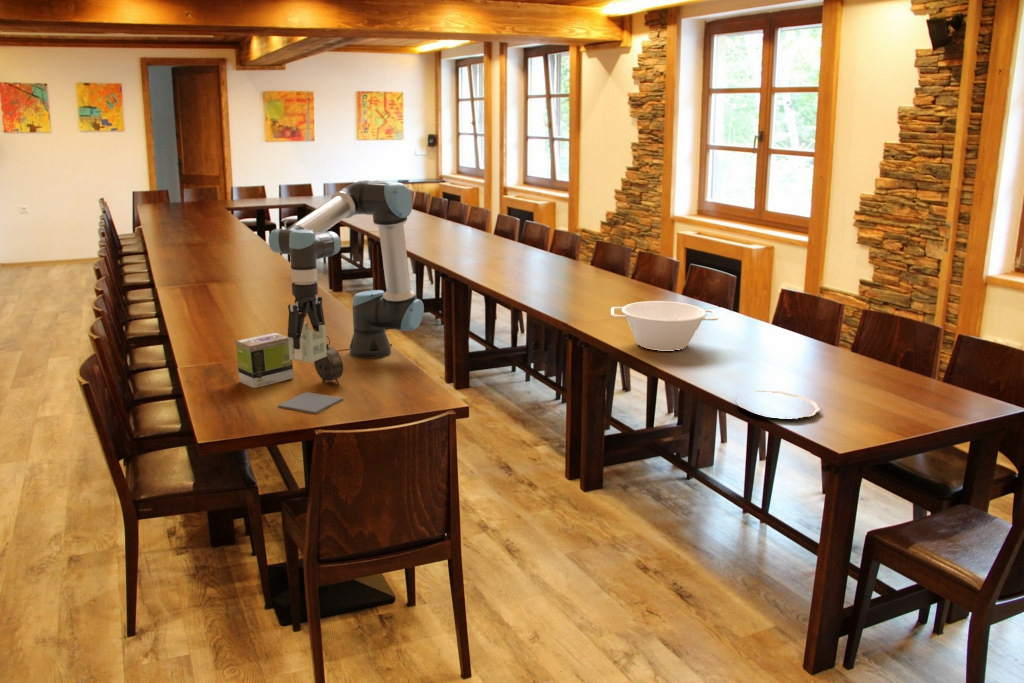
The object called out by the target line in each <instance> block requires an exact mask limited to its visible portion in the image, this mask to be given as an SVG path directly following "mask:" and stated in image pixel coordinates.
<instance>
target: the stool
mask: <svg viewBox="0 0 1024 683" xmlns="http://www.w3.org/2000/svg"><path fill="white" fill-rule="evenodd" d="M326 326H327V325H326V324H325V325H320V326H319V335H313V332H312V331H313V330H312V329H309V324H308V322H304V323H303V328H302V333H301V337H300V338H303V357H304V359H302V360H301V359H295V354H294V347H293V346H294V345H293V338H290V337H288V336H287V337H288V343H289V359H290V360H292V361H298V362H304V363H309V364H310V363H311V364H312V363H314V361H317V360H319V359H321V358H324V357H326V356H327V347H326V344H327V337H326V336H327V331H326V330H327V328H326ZM318 344H320V349H313V346H316V345H318Z"/></svg>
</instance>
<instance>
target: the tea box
mask: <svg viewBox="0 0 1024 683" xmlns="http://www.w3.org/2000/svg"><path fill="white" fill-rule="evenodd" d="M235 346H236V347H235V349H236V357H237V368H238V377H239V378H238V379H239V382H240V383H241V384H244V385H246V386H248V387H250V388H252V389H256V388H261V387H264V386H267V385H268V386H269V385H272V384H277V383H280V382H285V381H288V380H292V379H294V367H293V366H294V365H293V360H290V359H289V343H288V335H283V334H280V333H278V332H275V331H274V332H270V333H266V334H262V335H261V334H260V335H257V336H250V337H246V338H242V339H239V340H235Z"/></svg>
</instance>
